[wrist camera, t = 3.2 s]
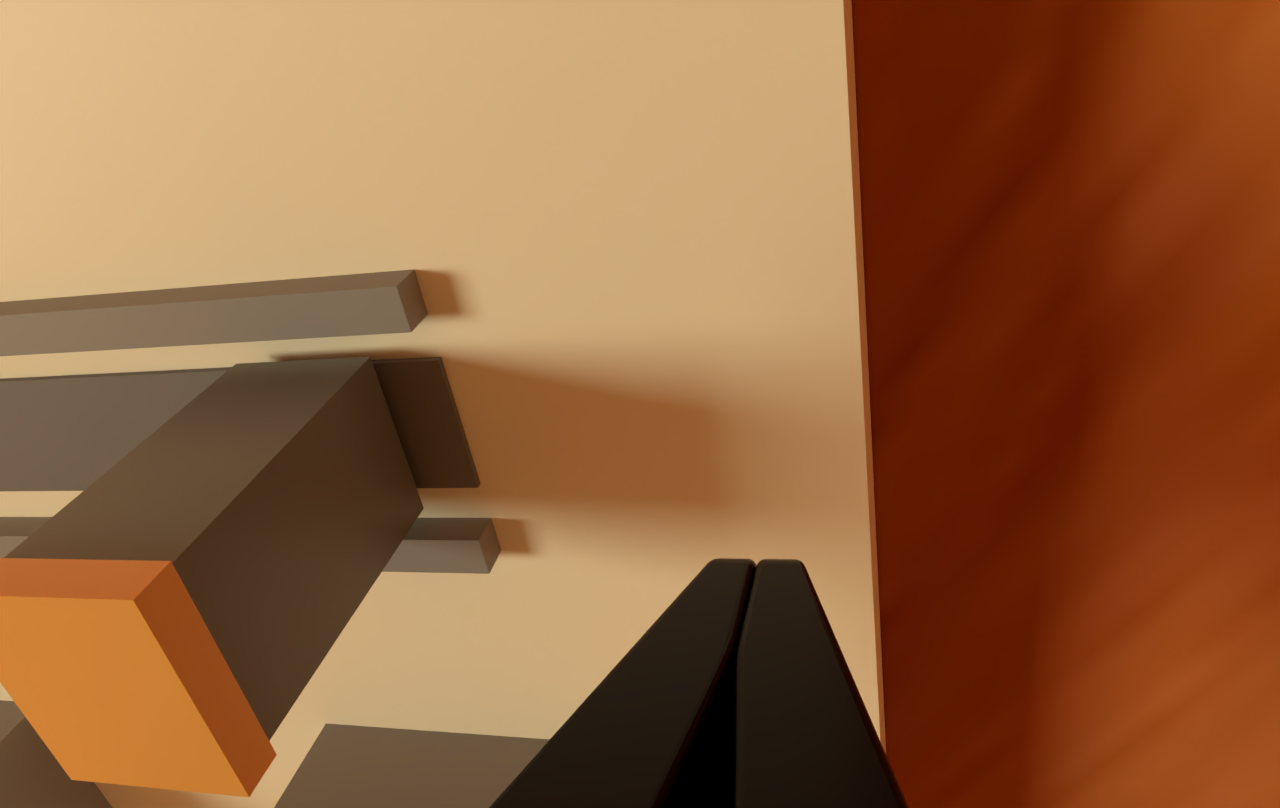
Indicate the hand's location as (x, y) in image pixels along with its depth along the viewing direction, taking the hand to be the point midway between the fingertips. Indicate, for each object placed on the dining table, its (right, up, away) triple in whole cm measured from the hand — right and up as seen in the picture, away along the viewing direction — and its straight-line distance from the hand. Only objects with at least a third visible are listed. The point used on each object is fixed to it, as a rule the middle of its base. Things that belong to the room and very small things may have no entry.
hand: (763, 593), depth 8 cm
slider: (-5, +1, +4) cm, 7 cm away
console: (-10, 0, +10) cm, 14 cm away
